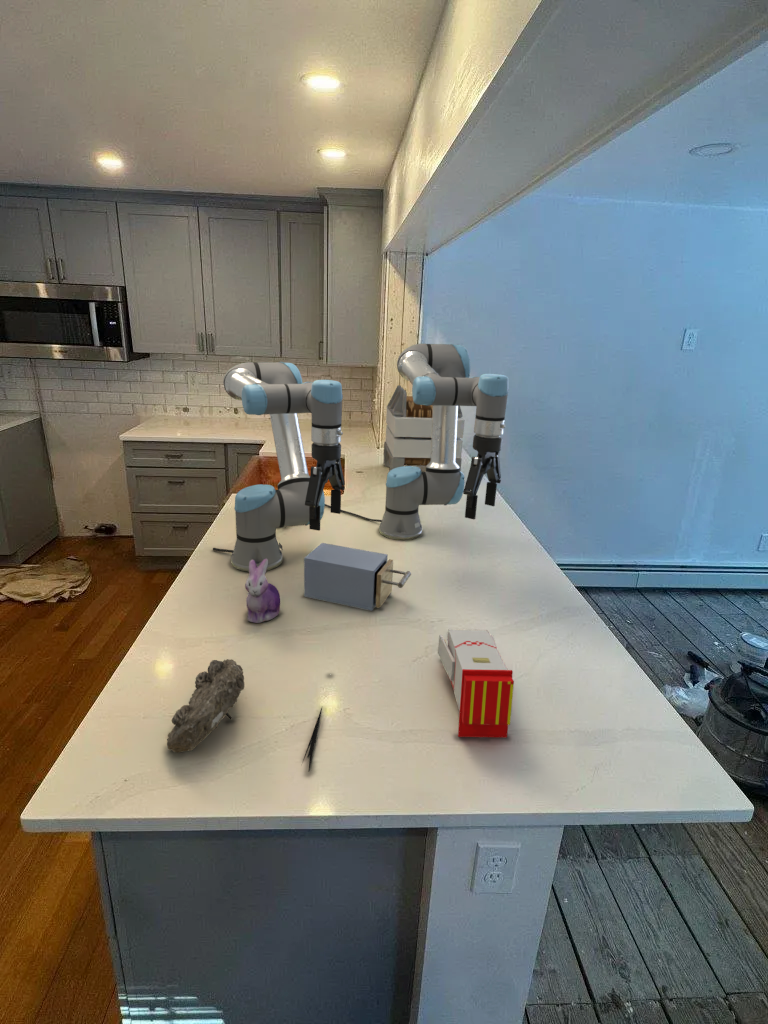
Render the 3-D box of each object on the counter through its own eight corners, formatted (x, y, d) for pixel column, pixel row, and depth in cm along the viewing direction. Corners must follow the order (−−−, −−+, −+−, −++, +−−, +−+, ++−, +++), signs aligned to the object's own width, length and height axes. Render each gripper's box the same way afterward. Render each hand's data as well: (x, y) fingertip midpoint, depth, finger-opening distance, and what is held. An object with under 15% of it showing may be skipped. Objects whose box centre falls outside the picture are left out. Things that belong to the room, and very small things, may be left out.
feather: (331, 679, 122) (336, 673, 122) (307, 777, 96) (313, 769, 95) (324, 675, 122) (329, 669, 121) (298, 772, 95) (304, 764, 95)
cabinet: (385, 592, 159) (387, 554, 155) (372, 610, 148) (373, 571, 145) (321, 579, 164) (321, 542, 160) (304, 596, 154) (303, 557, 150)
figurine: (250, 628, 138) (248, 572, 133) (239, 608, 146) (237, 555, 141) (287, 620, 142) (286, 565, 137) (275, 601, 150) (274, 550, 145)
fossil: (192, 660, 117) (244, 628, 112) (224, 691, 120) (276, 661, 115) (142, 746, 98) (202, 712, 93) (182, 779, 101) (242, 748, 96)
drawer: (410, 594, 156) (413, 563, 152) (399, 612, 146) (401, 579, 143) (331, 579, 162) (331, 548, 159) (315, 594, 153) (316, 562, 150)
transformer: (382, 463, 289) (386, 382, 275) (445, 464, 293) (451, 384, 279) (390, 482, 257) (394, 392, 243) (460, 483, 261) (468, 394, 247)
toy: (488, 613, 130) (523, 677, 101) (484, 667, 133) (517, 744, 104) (435, 612, 130) (455, 676, 101) (432, 666, 133) (451, 743, 103)
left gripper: (319, 455, 132) (319, 539, 139) (357, 435, 154) (355, 508, 161) (290, 451, 134) (291, 534, 141) (332, 432, 156) (331, 504, 164)
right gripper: (483, 445, 136) (474, 527, 144) (518, 430, 157) (509, 502, 164) (454, 440, 140) (447, 520, 147) (492, 426, 160) (484, 497, 167)
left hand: (325, 520), depth 151 cm, fingers open, 13 cm apart
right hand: (480, 511), depth 155 cm, fingers open, 13 cm apart
